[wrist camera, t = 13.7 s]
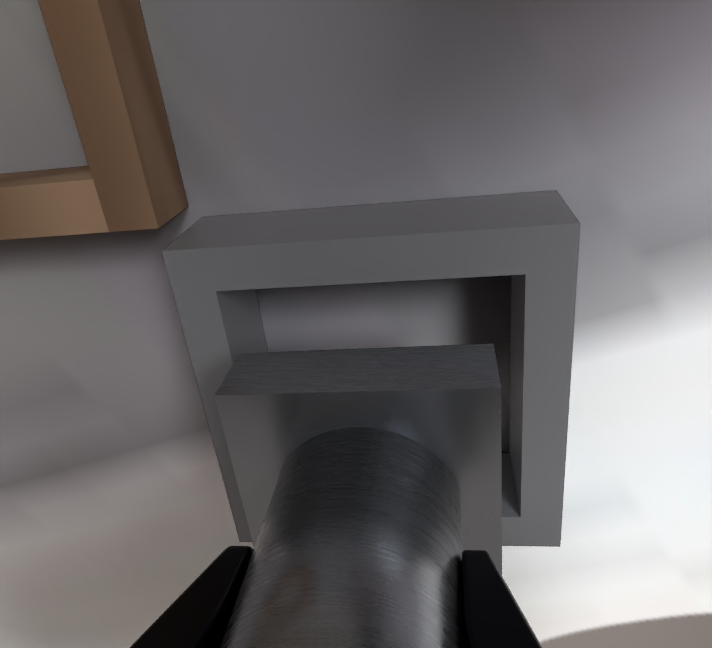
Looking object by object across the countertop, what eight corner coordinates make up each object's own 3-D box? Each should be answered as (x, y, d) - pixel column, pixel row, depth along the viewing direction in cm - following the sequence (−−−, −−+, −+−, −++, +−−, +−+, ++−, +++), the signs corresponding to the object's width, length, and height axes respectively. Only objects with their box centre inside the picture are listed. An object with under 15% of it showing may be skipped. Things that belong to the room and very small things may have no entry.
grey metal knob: (493, 343, 11) (614, 1026, 4) (495, 537, 13) (572, 1209, 6) (239, 353, 12) (-101, 930, 4) (281, 534, 14) (103, 1123, 7)
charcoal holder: (556, 190, 14) (580, 223, 11) (544, 479, 17) (559, 546, 15) (202, 216, 15) (161, 250, 13) (263, 480, 19) (240, 541, 16)
